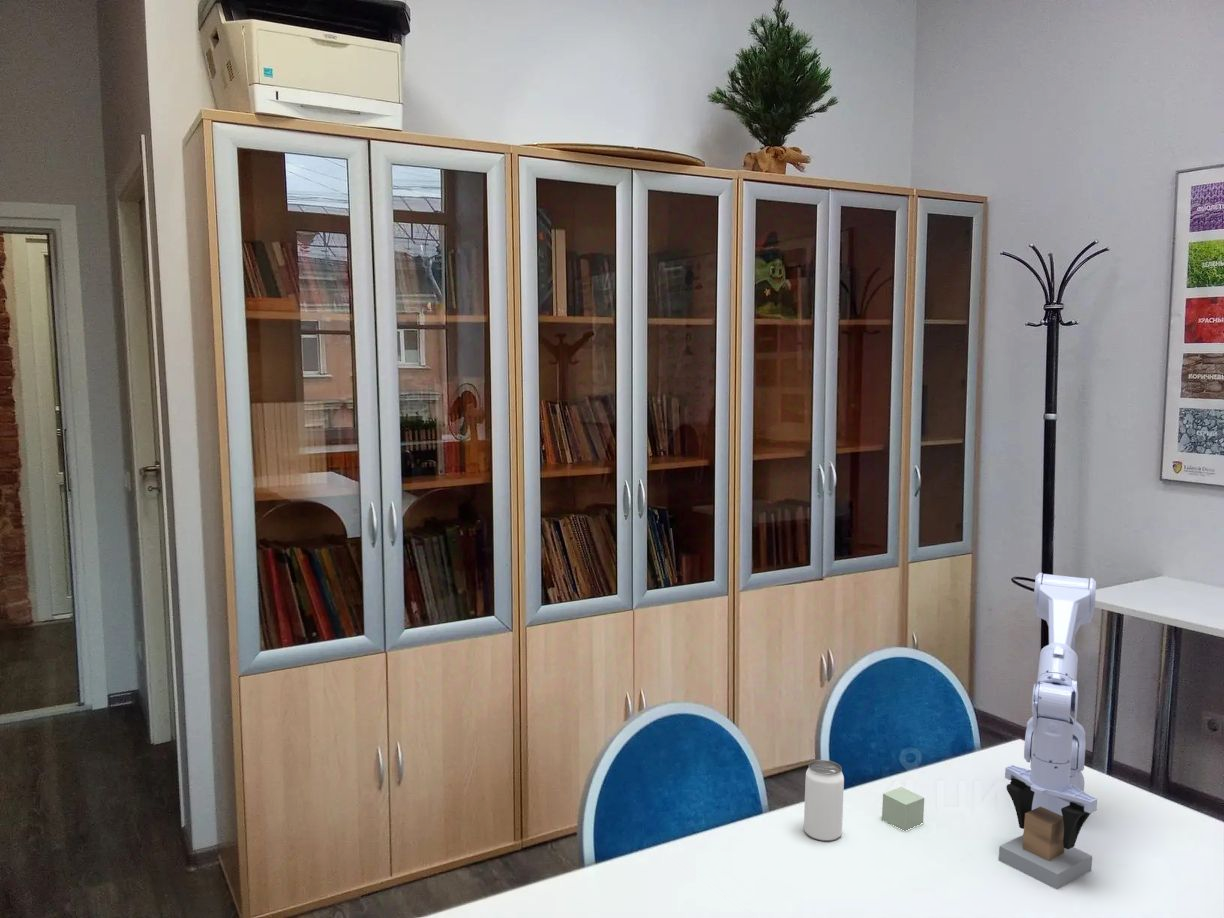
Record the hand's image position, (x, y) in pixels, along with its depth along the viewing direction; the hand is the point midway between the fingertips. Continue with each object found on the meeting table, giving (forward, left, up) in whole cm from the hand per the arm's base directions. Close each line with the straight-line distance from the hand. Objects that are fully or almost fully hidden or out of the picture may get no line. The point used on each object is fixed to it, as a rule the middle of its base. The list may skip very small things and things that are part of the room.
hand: (1046, 836), depth 148 cm
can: (+23, -27, -5) cm, 36 cm away
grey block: (0, 0, -6) cm, 6 cm away
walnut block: (0, 0, -2) cm, 2 cm away
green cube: (+8, -22, -5) cm, 24 cm away
